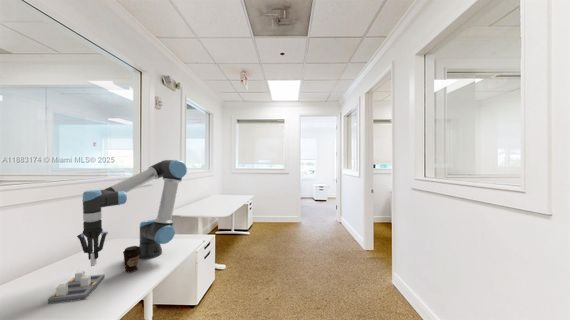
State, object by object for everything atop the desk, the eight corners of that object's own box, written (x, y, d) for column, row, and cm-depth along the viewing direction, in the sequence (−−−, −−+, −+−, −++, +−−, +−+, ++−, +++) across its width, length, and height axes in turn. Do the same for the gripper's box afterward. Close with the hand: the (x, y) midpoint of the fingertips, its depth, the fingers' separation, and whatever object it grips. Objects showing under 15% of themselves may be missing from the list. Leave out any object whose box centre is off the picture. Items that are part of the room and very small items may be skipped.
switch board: (104, 277, 133) (104, 273, 133) (85, 298, 113) (85, 293, 113) (73, 281, 129) (73, 277, 129) (47, 303, 109) (47, 298, 109)
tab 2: (84, 279, 129) (84, 270, 129) (81, 281, 126) (82, 273, 126) (77, 279, 128) (78, 271, 128) (74, 282, 125) (74, 273, 125)
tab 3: (90, 284, 124) (90, 275, 124) (87, 287, 121) (87, 277, 121) (83, 285, 123) (83, 275, 123) (80, 287, 120) (80, 278, 120)
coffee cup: (143, 268, 145) (143, 246, 145) (130, 274, 137) (130, 251, 137) (132, 266, 148) (132, 244, 148) (119, 272, 140) (119, 249, 140)
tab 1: (67, 293, 115) (68, 283, 115) (64, 296, 112) (64, 286, 112) (60, 294, 114) (60, 284, 114) (56, 297, 111) (56, 287, 111)
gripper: (109, 217, 134) (110, 260, 134) (81, 219, 130) (82, 263, 131) (104, 221, 127) (105, 266, 127) (73, 223, 123) (74, 270, 124)
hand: (93, 265), depth 129 cm, fingers closed
